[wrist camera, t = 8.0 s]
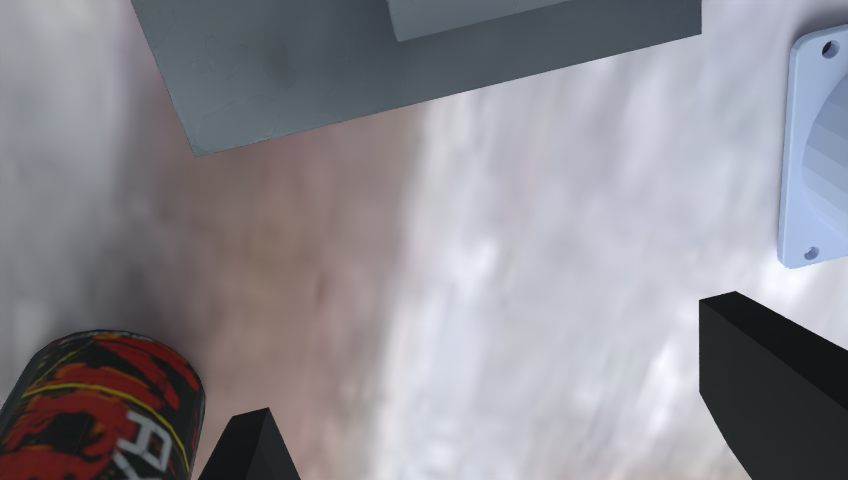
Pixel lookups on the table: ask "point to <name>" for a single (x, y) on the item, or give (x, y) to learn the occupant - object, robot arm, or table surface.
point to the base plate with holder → (366, 57)
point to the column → (451, 14)
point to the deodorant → (102, 412)
